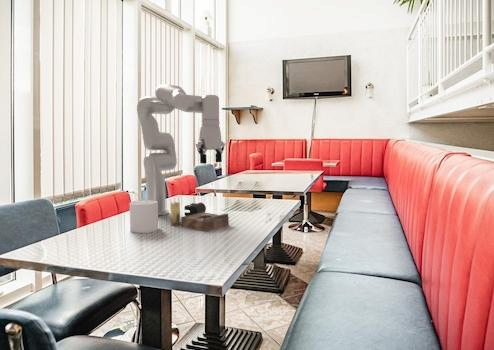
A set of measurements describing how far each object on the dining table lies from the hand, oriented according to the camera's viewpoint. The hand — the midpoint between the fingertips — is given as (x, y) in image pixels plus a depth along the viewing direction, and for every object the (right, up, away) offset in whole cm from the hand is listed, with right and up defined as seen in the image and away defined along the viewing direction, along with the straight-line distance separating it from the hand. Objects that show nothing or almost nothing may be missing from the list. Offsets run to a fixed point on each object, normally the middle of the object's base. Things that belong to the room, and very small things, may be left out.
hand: (211, 162), depth 169 cm
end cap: (-10, -27, +22) cm, 36 cm away
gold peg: (-17, -28, +6) cm, 33 cm away
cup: (-29, -29, -3) cm, 41 cm away
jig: (-3, -28, +4) cm, 29 cm away
